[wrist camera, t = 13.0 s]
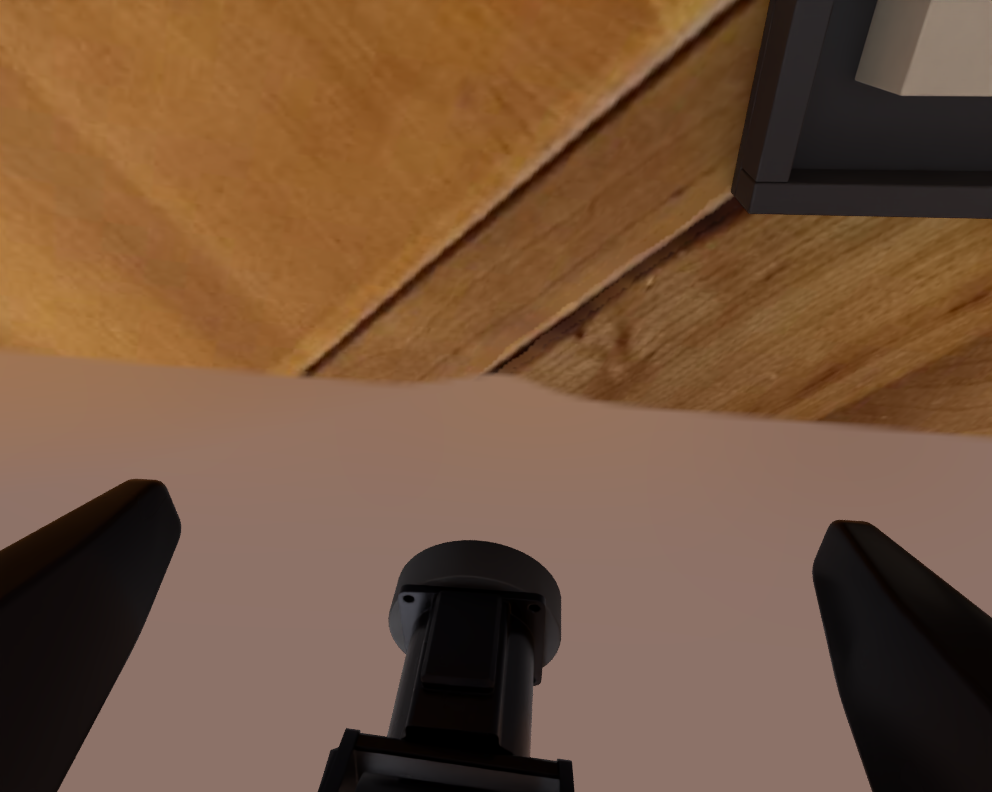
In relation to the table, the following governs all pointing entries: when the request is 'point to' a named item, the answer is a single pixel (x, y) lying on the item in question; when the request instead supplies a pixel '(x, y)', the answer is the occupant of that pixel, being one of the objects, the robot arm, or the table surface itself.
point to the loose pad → (929, 48)
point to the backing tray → (853, 129)
